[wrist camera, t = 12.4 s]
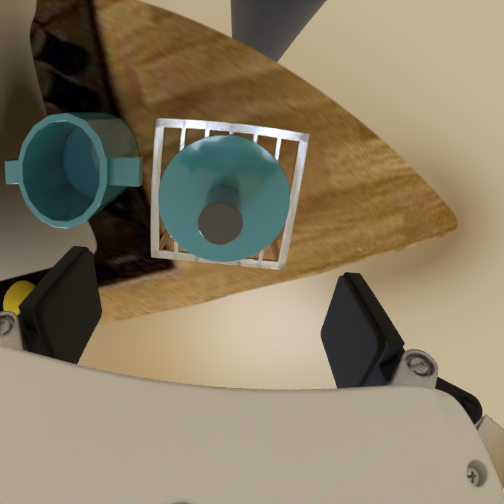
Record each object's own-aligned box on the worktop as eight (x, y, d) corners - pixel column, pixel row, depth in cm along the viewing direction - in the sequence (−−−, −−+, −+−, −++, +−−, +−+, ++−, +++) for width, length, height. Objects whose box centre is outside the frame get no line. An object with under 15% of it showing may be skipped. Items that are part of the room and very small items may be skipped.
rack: (171, 118, 27) (156, 118, 22) (295, 131, 28) (309, 134, 23) (164, 233, 32) (151, 257, 27) (276, 244, 34) (284, 270, 28)
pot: (45, 117, 25) (0, 123, 17) (166, 111, 27) (141, 109, 19) (46, 199, 29) (6, 223, 22) (159, 205, 31) (136, 234, 23)
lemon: (19, 267, 33) (-10, 295, 26) (46, 275, 34) (18, 307, 27) (25, 297, 35) (0, 327, 28) (51, 306, 36) (27, 339, 29)
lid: (165, 129, 22) (141, 133, 16) (297, 143, 23) (318, 151, 17) (159, 250, 27) (141, 287, 21) (276, 261, 28) (287, 301, 22)
